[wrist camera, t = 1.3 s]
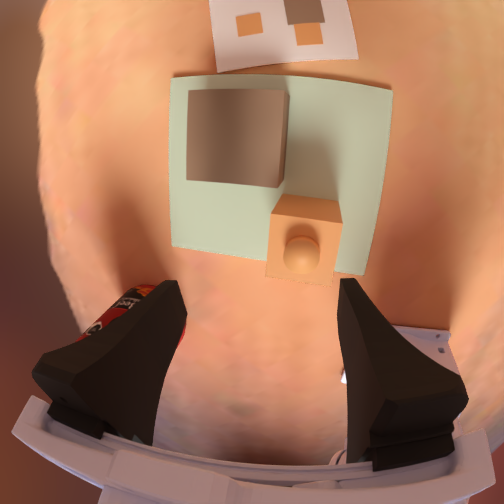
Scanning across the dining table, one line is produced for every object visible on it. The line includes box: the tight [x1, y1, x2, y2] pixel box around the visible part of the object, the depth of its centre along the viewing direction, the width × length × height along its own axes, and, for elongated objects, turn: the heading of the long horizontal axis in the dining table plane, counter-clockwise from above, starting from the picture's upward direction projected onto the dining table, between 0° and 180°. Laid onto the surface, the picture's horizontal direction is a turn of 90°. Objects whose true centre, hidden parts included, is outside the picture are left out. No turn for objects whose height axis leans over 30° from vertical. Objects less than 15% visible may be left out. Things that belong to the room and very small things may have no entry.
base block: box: [186, 89, 290, 188], centre depth 18 cm, size 6×6×3 cm
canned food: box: [75, 285, 186, 347], centre depth 24 cm, size 8×8×11 cm
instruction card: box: [209, 0, 359, 73], centre depth 15 cm, size 10×7×1 cm
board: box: [169, 74, 393, 276], centre depth 20 cm, size 16×14×1 cm
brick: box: [265, 194, 343, 287], centre depth 18 cm, size 4×4×6 cm
